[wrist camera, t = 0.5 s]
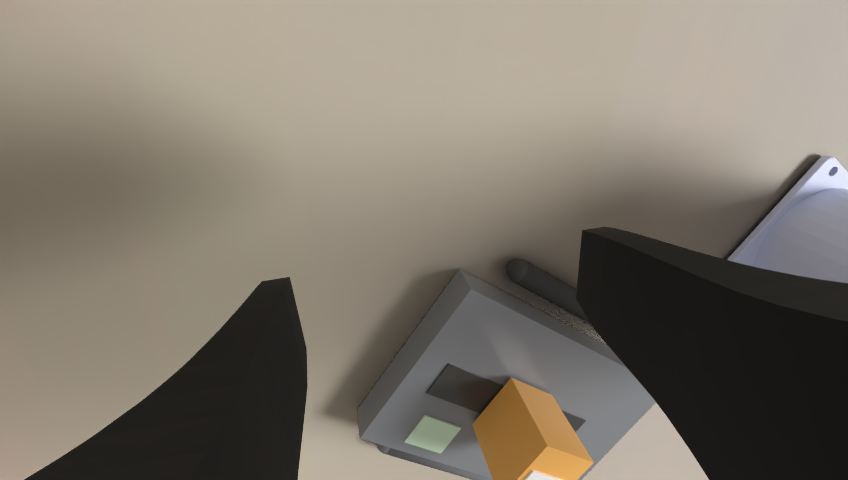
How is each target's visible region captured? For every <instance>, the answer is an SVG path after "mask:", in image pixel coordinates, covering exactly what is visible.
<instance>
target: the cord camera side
mask: <svg viewBox="0 0 848 480" xmlns="http://www.w3.org/2000/svg"><path fill="white" fill-rule="evenodd" d="M377 447H378V449H379V451H380V452H382V453H384V454H387V455H391V456H394V457H398V458H401V459H404V460H408V461H411V462H415V463H418V464H421V465H425V466H428V467H431V468H435V469H438V470H442V471H445V472H448V473H452V474H455V475H459V476H462V477H465V478H469V479H472V480H493V479H492V478H489V477H485V476H482V475H479V474H475V473H472V472H469V471H466V470H462V469H459V468H456V467H452V466H449V465H446V464H442V463H439V462H436V461H432V460H429V459H426V458H423V457H419V456H416V455H413V454H409V453H406V452H403V451H399V450H396V449H393V448H390V447H386V446H383V445H380V444H377Z"/></svg>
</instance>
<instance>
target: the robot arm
mask: <svg viewBox="0 0 848 480" xmlns="http://www.w3.org/2000/svg"><path fill="white" fill-rule="evenodd" d="M576 300H577V301H578V303H579V305H580V306H581V308H582V310H583V311H584V313H585V315H586V317H587V318H588V320H589V321H590V323H591V324H592V326H593V327H594V329H595V330H596V332H597V333H598V334H599V335H600V336H601V338H602V339H603V340H604V341H605V342H606V344H607V345H608V346H609V347H610V348H611V350H612V351H613V352H614V353H615V354H616V356H617V357H618V358H619V359H620V360H621V361H622V363H623V364H624V365H625V366H626V367H627V368H628V370H629V371H630V372H631V373H632V374H633V375H634V377H635V378H636V379H637V380H638V381H639V382H640V384H641V385H642V386H643V387H644V388H645V389H646V391H647V392H648V393H649V394H650V395H651V396H652V398H653V399H654V400H655V401H656V403H657V404H658V405H659V407H660V408H661V409H662V410H663V412H664V413H665V414H666V416H667V417H668V418H669V420H670V421H671V423H672V424H673V426H674V427H675V429H676V430H677V432H678V433H679V434H680V436H681V437H682V439H683V440H684V442H685V443H686V445H687V446H688V447H689V449H690V450H691V452H692V453H693V455H694V457H695V458H696V460H697V461H698V463H699V464H700V466H701V467H702V469H703V471H704V472H705V474H706V475H707V477H708V478H709V480H848V171H847V170H846V169H845V168H844V167H843V166H842V165H841V164H840V163H839V162H838V161H837V159H836V158H834V157H831V156H823V157H821V158H820V159H819V160H817V162H816V163H815V164H814V165H813V166H812V167H811V168H810V169H809V170H808V171H807V172H806V174H805V175H804V176H803V177H802V178H801V179H800V180H799V181H798V182H797V183H796V185H795V186H794V187H793V188H792V189H791V190H790V191H789V192H788V193H787V194H786V195H785V197H784V198H783V199H782V200H781V201H780V202H779V203H778V204H777V205H776V206H775V207H774V209H773V210H772V211H771V212H770V213H769V214H768V215H767V216H766V217H765V218H764V220H763V221H762V222H761V223H760V224H759V225H758V226H757V227H756V228H755V229H754V230H753V232H752V233H751V234H750V235H749V236H748V237H747V238H746V239H745V240H744V241H743V243H742V244H741V245H740V246H739V247H738V248H737V249H736V250H735V251H734V252H733V253H732V255H731V256H730V257H729V258H728V259H727V260H725V259H721V258H717V257H713V256H710V255H706V254H703V253H699V252H695V251H692V250H689V249H685V248H682V247H678V246H675V245H672V244H668V243H665V242H662V241H659V240H655V239H652V238H648V237H645V236H642V235H638V234H635V233H631V232H627V231H623V230H619V229H615V228H609V227H600V228H594V229H588V230H582V239H581V250H580V261H579V272H578V283H577V294H576ZM306 394H307V354H306V345H305V340H304V336H303V332H302V328H301V323H300V319H299V315H298V311H297V306H296V302H295V298H294V294H293V289H292V285H291V281H290V277H287V278H280V279H274V280H268V281H262V282H261V283H260V284H259V285H258V286H257V288H256V289H255V290H254V291H253V292H252V293H251V295H250V296H249V297H248V298H247V299H246V301H245V302H244V303H243V304H242V305H241V306H240V308H239V309H238V310H237V311H236V312H235V313H234V314H233V315H232V317H231V318H230V319H229V320H228V321H227V322H226V323H225V324H224V326H223V327H222V328H221V329H220V330H219V331H218V332H217V333H216V334H215V335H214V336H213V337H212V338H211V339H210V340H209V341H208V342H207V343H206V344H205V345H204V346H203V347H202V348H201V349H200V350H199V351H198V352H197V353H196V354H195V355H194V356H193V357H192V358H191V359H190V360H189V361H188V362H187V363H186V364H185V365H184V366H183V367H182V368H180V369H179V370H178V371H177V372H176V373H175V374H174V375H173V376H171V377H170V378H169V379H168V380H167V381H165V382H164V383H163V384H162V385H161V386H159V387H158V388H157V389H156V390H155V391H153V392H152V393H151V394H150V395H149V396H147V397H146V398H145V399H143V400H142V401H141V402H140V403H138V404H137V405H136V406H134V407H133V408H131V409H130V410H129V411H127V412H126V413H124V414H123V415H122V416H120V417H119V418H118V419H116V420H115V421H113V422H112V423H111V424H109V425H108V426H107V427H105V428H104V429H102V430H101V431H100V432H98V433H97V434H95V435H94V436H93V437H91V438H90V439H88V440H87V441H85V442H84V443H82V444H81V445H79V446H77V447H76V448H74V449H73V450H71V451H70V452H68V453H67V454H65V455H64V456H62V457H60V458H59V459H57V460H56V461H54V462H52V463H51V464H49V465H48V466H46V467H44V468H43V469H41V470H39V471H38V472H36V473H34V474H33V475H31V476H30V477H28V478H26V479H25V480H297V479H298V469H299V460H300V450H301V441H302V432H303V423H304V414H305V404H306Z"/></svg>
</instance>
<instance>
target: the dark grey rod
mask: <svg viewBox="0 0 848 480" xmlns="http://www.w3.org/2000/svg"><path fill="white" fill-rule="evenodd" d="M507 275H508V277H509V278H510V279H511V280H512V281H513V282H515V283H517V284H519V285H520V286H522V287H524V288H526V289H528V290H530V291H532V292H533V293H535V294H537V295H539V296H541V297H543V298H545V299H546V300H548V301H550V302H552V303H554V304H556V305H558V306H560V307H561V308H563V309H565V310H567V311H569V312H571V313H573V314H574V315H576V316H578V317H580V318H582V319H584V320H586V321H587V322H589V323H590V321H589V320H588V318H587V317H586V315H585V313H584V311H583V310H582V308H581V306H580V305H579V303H578V301H577V300H576V294H577V290H576V289H574V288H572V287H570V286H569V285H567V284H565V283H563V282H562V281H560V280H558V279H556V278H555V277H553V276H551V275H549V274H548V273H546V272H544V271H542V270H541V269H539V268H537V267H535V266H534V265H532V264H530V263H528V262H527V261H525V260H522V259H516V260H513V261H512V262H510V263H509V265H508V267H507Z"/></svg>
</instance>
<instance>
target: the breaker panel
mask: <svg viewBox="0 0 848 480" xmlns="http://www.w3.org/2000/svg"><path fill="white" fill-rule="evenodd" d="M510 378H514V379H516V380H518V381H521V382H523V383H525V384H528V385H530V386H532V387H535V388H537V389H539V390H542V391H544V392H546V393H549V394H551V395H552V396H553V397H554V399H555V400H556V402H557V404H558V405H559V407H560V409H561V410H562V412H563V413H564V415H565V417H566V418H567V420H568V422H569V423H570V425H571V426H572V428H573V430H574V431H575V433H576V434H577V436H578V438H579V439H580V441H581V443H582V444H583V446H584V447H585V449H586V451H587V452H588V454H589V455H590V457H591V459H592V460H593V462H594V463H593V464H592V465H591V466H590V467H589V468H588V469H587V470H586V471H585V473H584V474H583V475H582V476H581V477H580V478H579V479H578V480H582V479H583V478H584V477H585V476H586V475H587V474H588V472H589V471H590V470H591V469H592V468H593V467H594V466H595V465H596V464H597V463H598V462H599V461H600V460H601V459H602V458H603V457H604V456H605V455H606V454H607V453H608V452H609V451H610V450H611V449H612V448H613V446H614V445H615V444H616V443H617V442H618V441H619V440H620V439H621V438H622V437H623V436H624V435H625V434H626V433H627V432H628V431H629V430H630V429H631V428H632V427H633V426H634V425H635V424H636V423H637V421H638V420H639V419H640V418H641V417H642V416H643V415H644V414H645V413H646V412H647V411H648V410H649V409H650V408H651V407H652V406H653V405H654V404H655V403H656V401H655V400H654V399H653V398H652V396H651V395H650V394H649V393H648V392H647V391H646V389H645V388H644V387H643V386H642V385H641V384H640V382H639V381H638V380H637V379H636V378H635V377H634V375H633V374H632V373H631V372H630V371H629V370H628V368H627V367H626V366H625V365H624V364H623V363H622V361H621V360H620V359H619V358H618V357H617V356H616V354H615V353H614V352H613V351H612V350H611V348H610V347H609V346H608V345H606V344H604V343H602V342H600V341H598V340H596V339H594V338H592V337H590V336H588V335H586V334H585V333H583V332H581V331H579V330H577V329H575V328H573V327H571V326H569V325H567V324H565V323H563V322H562V321H560V320H558V319H556V318H554V317H552V316H550V315H548V314H546V313H544V312H542V311H540V310H538V309H537V308H535V307H533V306H531V305H529V304H527V303H525V302H523V301H521V300H519V299H517V298H515V297H514V296H512V295H510V294H508V293H506V292H504V291H502V290H500V289H498V288H496V287H494V286H492V285H491V284H489V283H487V282H485V281H483V280H481V279H479V278H477V277H475V276H473V275H471V274H469V273H467V272H466V271H464V270H462V269H460V268H459V270H458V271H457V273H456V274H455V275H454V277H453V278H452V279H451V281H450V282H449V284H448V285H447V286H446V288H445V289H444V290H443V292H442V293H441V295H440V296H439V297H438V299H437V300H436V301H435V303H434V304H433V306H432V307H431V308H430V310H429V311H428V312H427V314H426V315H425V317H424V318H423V319H422V321H421V322H420V323H419V325H418V326H417V328H416V329H415V330H414V332H413V333H412V334H411V336H410V337H409V339H408V340H407V341H406V343H405V344H404V345H403V347H402V348H401V350H400V351H399V352H398V354H397V355H396V356H395V358H394V359H393V361H392V362H391V363H390V365H389V366H388V367H387V369H386V370H385V372H384V373H383V374H382V376H381V377H380V378H379V380H378V381H377V383H376V384H375V385H374V387H373V388H372V389H371V391H370V392H369V394H368V395H367V396H366V398H365V399H364V401H363V402H362V403H361V405H360V406H359V407H358V409H357V414H358V425H359V435H360V439H363V440H366V441H370V442H373V443H376V444H380V445H383V446H386V447H390V448H393V449H396V450H399V451H403V452H406V453H409V454H413V455H416V456H419V457H423V458H426V459H429V460H432V461H436V462H439V463H442V464H446V465H449V466H452V467H456V468H459V469H462V470H466V471H469V472H472V473H475V474H479V475H482V476H485V477H489V478H492V476H491V473H490V471H489V468H488V465H487V463H486V460H485V457H484V455H483V452H482V449H481V447H480V444H479V441H478V439H477V436H476V433H475V431H474V428H473V425H472V424H473V423H474V422H475V420H476V419H477V418H478V417H479V416H480V414H481V413H482V412H483V411H484V410H485V408H486V407H487V406H488V405H489V404H490V402H491V401H492V400H493V399H494V398H495V396H496V395H497V394H498V393H499V391H500V390H501V389H502V388H503V387H504V385H505V384H506V383H507V382H508V381H509V379H510Z"/></svg>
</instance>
